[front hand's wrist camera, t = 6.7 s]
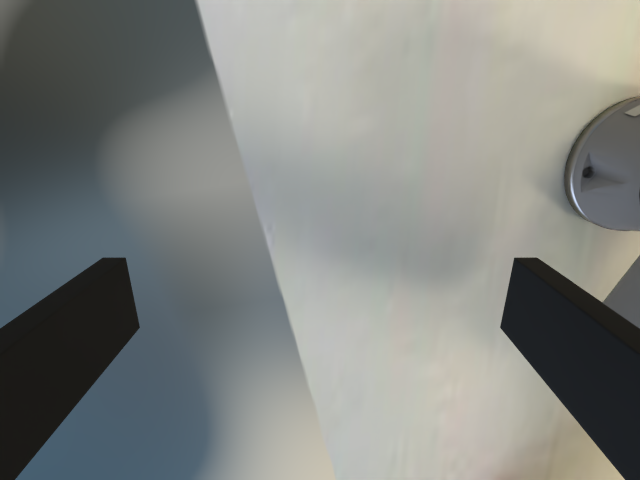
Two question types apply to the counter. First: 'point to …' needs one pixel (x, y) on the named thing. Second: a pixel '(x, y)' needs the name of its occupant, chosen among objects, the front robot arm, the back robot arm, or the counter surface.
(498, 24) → the counter surface
